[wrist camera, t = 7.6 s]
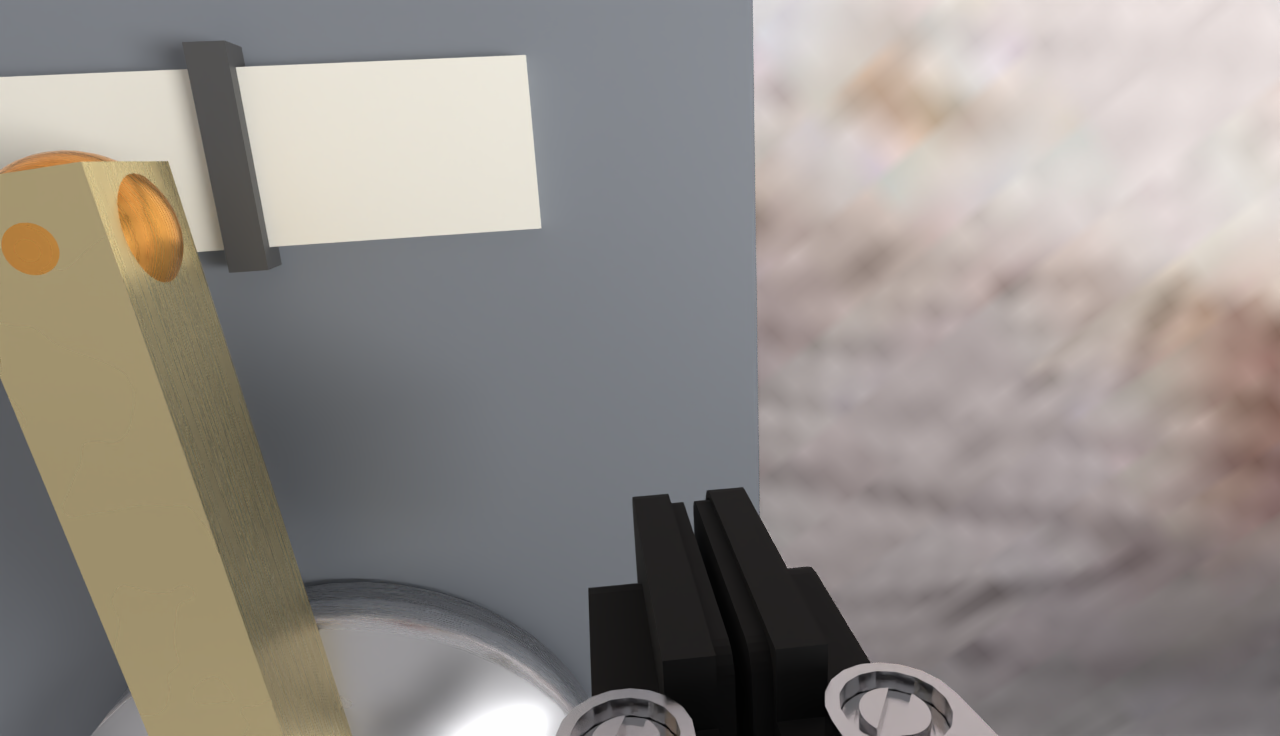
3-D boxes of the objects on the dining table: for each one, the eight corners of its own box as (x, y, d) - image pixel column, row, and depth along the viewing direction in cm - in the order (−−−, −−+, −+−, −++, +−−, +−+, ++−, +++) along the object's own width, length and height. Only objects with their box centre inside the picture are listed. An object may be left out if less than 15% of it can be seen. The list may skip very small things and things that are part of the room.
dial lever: (643, 925, 20) (671, 1119, 16) (187, 1040, 19) (93, 1280, 15) (476, 103, 14) (453, 80, 10) (-199, 206, 13) (-525, 227, 9)
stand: (726, -7, 17) (764, -40, 14) (747, 925, 24) (774, 1022, 21) (-303, 27, 14) (-495, -3, 12) (68, 1047, 22) (3, 1171, 19)
